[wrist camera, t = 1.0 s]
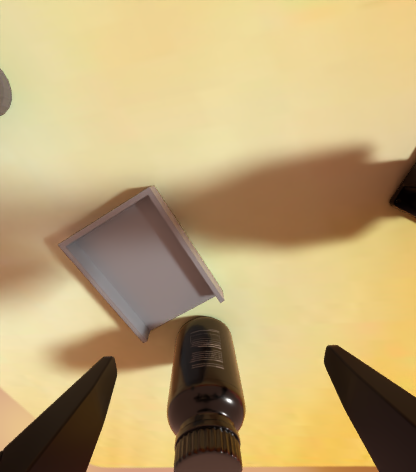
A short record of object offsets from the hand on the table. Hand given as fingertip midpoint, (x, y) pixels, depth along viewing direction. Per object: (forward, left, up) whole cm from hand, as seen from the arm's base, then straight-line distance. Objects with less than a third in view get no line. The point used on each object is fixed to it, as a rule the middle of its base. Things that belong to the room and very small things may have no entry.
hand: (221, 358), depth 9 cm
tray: (+5, +5, -14) cm, 15 cm away
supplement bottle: (-4, +11, -14) cm, 19 cm away
